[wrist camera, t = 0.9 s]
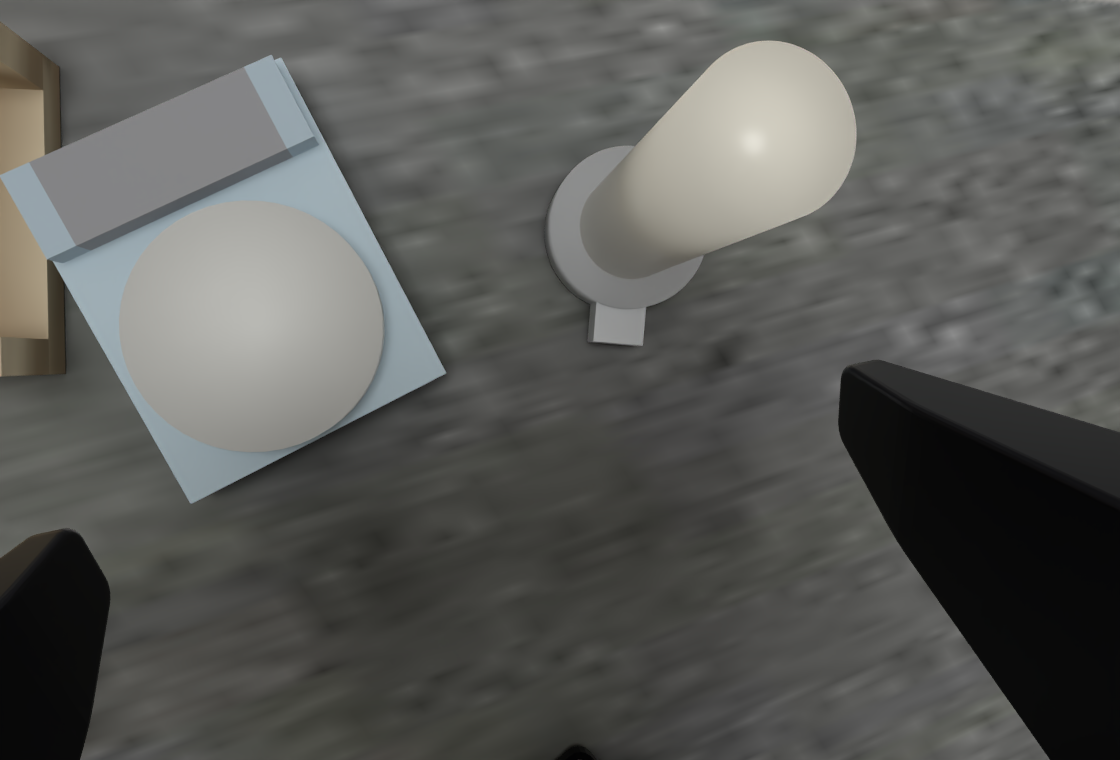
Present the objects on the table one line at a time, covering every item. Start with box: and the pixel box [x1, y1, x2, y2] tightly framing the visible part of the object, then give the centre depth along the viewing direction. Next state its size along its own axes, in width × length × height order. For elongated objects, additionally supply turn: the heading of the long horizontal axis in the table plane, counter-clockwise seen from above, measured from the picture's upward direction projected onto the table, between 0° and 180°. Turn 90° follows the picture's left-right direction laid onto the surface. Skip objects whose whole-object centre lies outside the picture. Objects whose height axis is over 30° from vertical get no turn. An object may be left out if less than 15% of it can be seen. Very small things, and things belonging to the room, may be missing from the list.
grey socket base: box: [0, 55, 446, 504], centre depth 23 cm, size 10×8×3 cm
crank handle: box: [544, 41, 856, 346], centre depth 20 cm, size 6×5×12 cm
